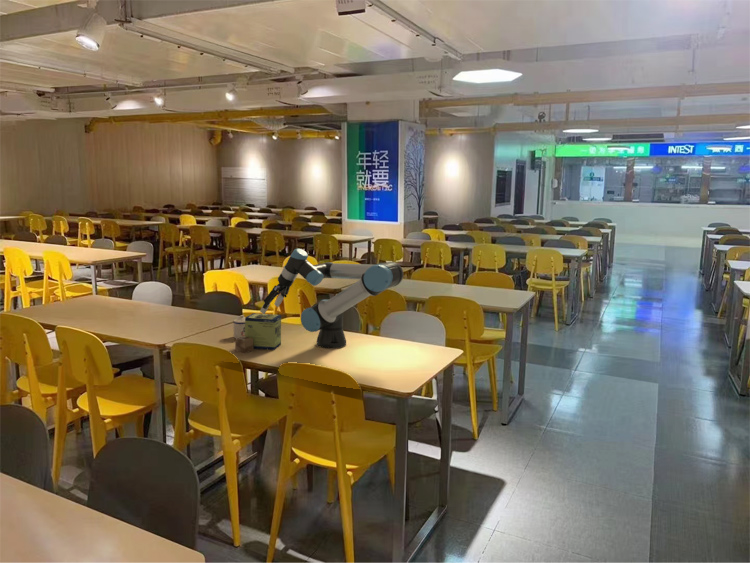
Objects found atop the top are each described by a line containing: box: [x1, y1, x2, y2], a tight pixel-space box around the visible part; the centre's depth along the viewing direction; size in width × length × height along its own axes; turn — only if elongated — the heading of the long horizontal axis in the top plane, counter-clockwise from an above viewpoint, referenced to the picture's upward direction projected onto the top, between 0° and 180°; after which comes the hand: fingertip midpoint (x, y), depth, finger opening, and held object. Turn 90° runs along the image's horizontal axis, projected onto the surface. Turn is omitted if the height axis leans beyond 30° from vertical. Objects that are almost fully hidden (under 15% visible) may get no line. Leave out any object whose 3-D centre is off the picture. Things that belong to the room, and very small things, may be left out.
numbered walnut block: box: [234, 337, 254, 354], centre depth 276 cm, size 6×6×6 cm
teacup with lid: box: [232, 314, 246, 339], centre depth 301 cm, size 12×9×12 cm
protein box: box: [245, 312, 282, 351], centre depth 283 cm, size 10×16×16 cm
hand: (269, 309), depth 289 cm, fingers open, 13 cm apart
